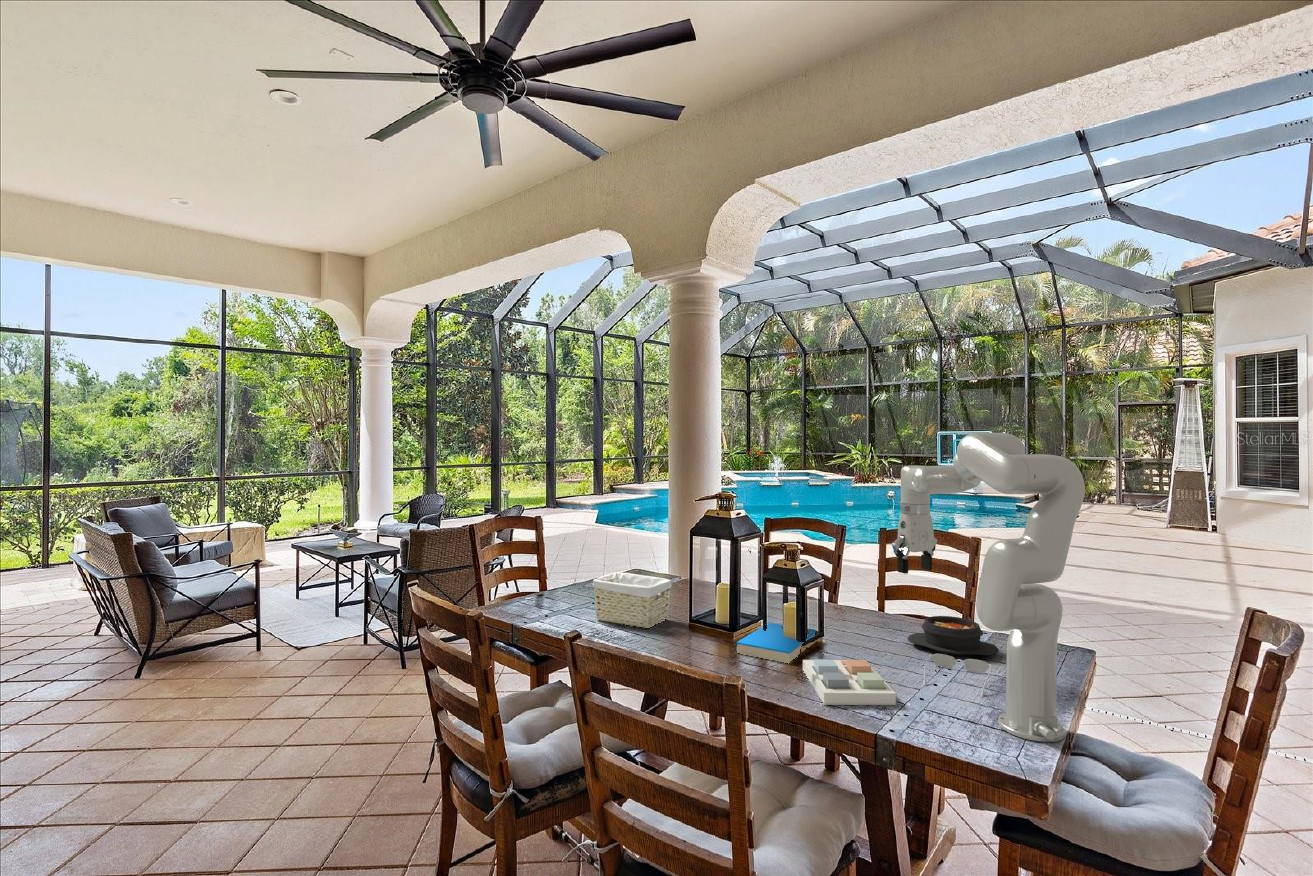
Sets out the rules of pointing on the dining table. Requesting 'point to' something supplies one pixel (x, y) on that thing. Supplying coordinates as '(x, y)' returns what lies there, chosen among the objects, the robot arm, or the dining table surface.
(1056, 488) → the robot arm
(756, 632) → the book
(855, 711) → the dining table surface
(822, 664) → the key blue
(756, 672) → the dining table surface
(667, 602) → the storage basket
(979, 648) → the casserole
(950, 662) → the eyeglasses
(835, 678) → the key slate
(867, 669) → the key terracotta
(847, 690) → the keypad
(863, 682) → the key sage
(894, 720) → the dining table surface
